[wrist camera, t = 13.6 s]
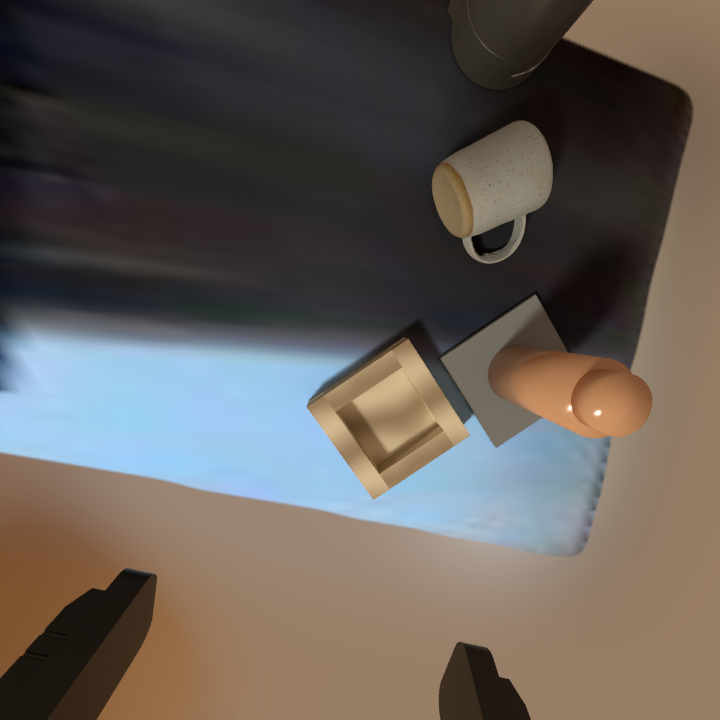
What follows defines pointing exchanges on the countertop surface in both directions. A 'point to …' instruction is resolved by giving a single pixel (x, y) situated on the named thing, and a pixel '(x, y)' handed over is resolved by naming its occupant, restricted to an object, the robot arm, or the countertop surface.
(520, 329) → the mat
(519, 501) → the countertop surface
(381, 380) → the holder
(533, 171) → the ceramic mug
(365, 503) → the countertop surface
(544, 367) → the peach capped cylinder
